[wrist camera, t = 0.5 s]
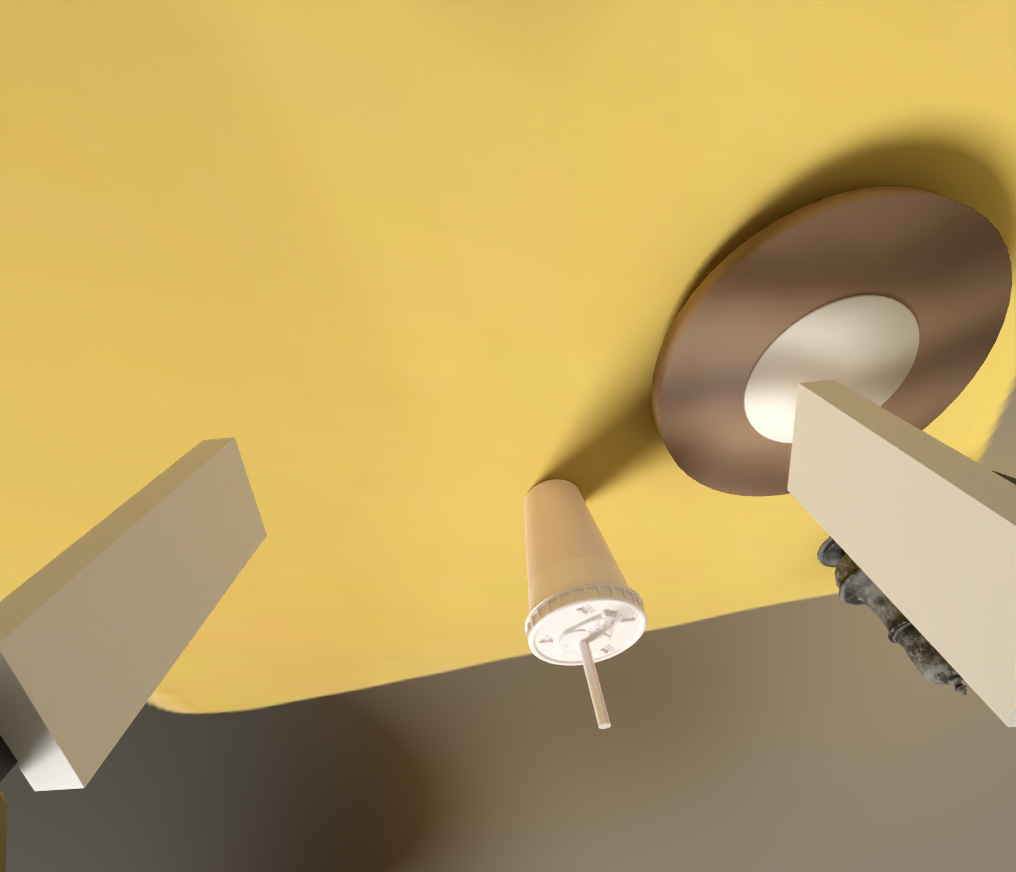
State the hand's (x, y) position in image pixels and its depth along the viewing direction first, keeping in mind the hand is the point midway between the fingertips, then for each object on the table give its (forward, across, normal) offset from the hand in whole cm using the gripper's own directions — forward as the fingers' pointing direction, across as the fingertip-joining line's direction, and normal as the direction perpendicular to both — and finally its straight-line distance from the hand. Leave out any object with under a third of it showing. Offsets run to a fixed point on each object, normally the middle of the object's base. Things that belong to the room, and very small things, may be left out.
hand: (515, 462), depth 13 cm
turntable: (+18, +16, -4) cm, 24 cm away
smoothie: (+20, +1, -12) cm, 23 cm away
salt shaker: (+26, +24, -22) cm, 42 cm away
